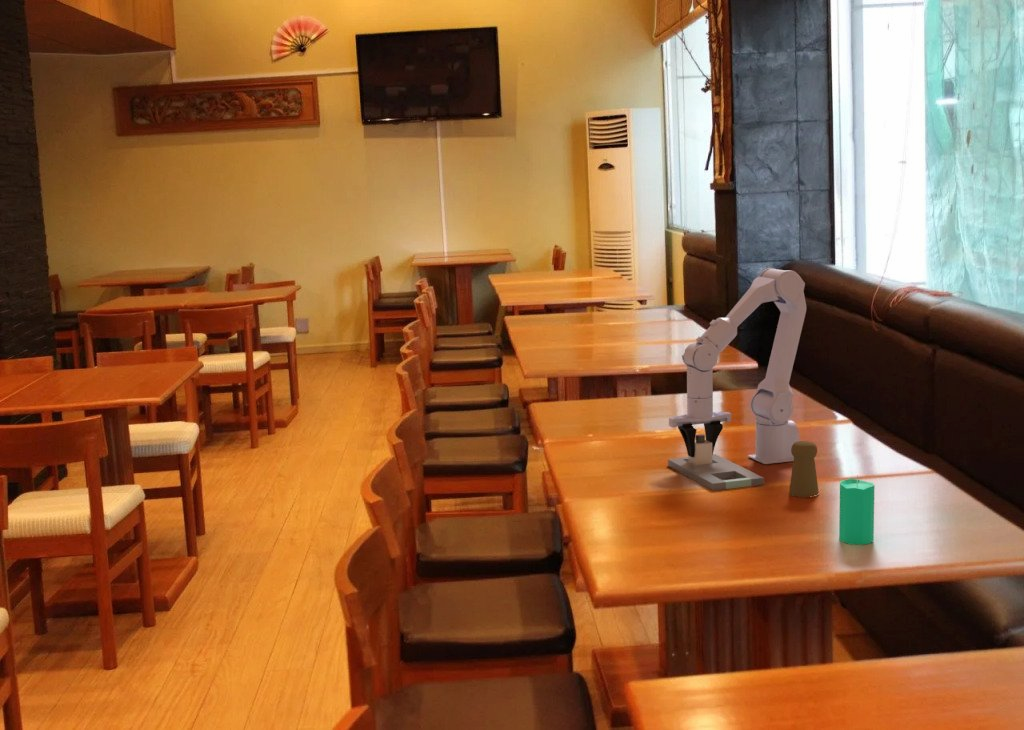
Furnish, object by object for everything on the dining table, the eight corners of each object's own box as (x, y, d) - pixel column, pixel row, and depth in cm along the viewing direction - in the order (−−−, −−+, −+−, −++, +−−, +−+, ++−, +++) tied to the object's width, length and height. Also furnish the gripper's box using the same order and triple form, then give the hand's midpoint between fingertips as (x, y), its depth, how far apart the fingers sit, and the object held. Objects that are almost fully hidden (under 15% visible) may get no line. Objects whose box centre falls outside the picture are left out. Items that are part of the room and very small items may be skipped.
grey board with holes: (715, 460, 268) (715, 454, 267) (763, 484, 246) (763, 477, 246) (668, 465, 264) (668, 459, 264) (712, 490, 243) (712, 483, 242)
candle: (834, 535, 210) (834, 471, 208) (865, 533, 211) (866, 470, 209) (846, 545, 204) (847, 480, 202) (878, 543, 205) (880, 478, 203)
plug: (704, 464, 264) (704, 432, 263) (712, 468, 260) (712, 436, 259) (688, 466, 263) (688, 434, 262) (696, 470, 259) (696, 438, 258)
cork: (819, 498, 234) (820, 445, 233) (789, 497, 236) (789, 445, 234) (818, 490, 240) (818, 438, 238) (788, 489, 241) (788, 438, 240)
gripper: (721, 390, 265) (721, 448, 267) (663, 396, 261) (663, 454, 263) (735, 395, 258) (735, 454, 260) (676, 401, 254) (676, 461, 256)
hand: (700, 455), depth 261 cm, fingers closed on plug, 4 cm apart
